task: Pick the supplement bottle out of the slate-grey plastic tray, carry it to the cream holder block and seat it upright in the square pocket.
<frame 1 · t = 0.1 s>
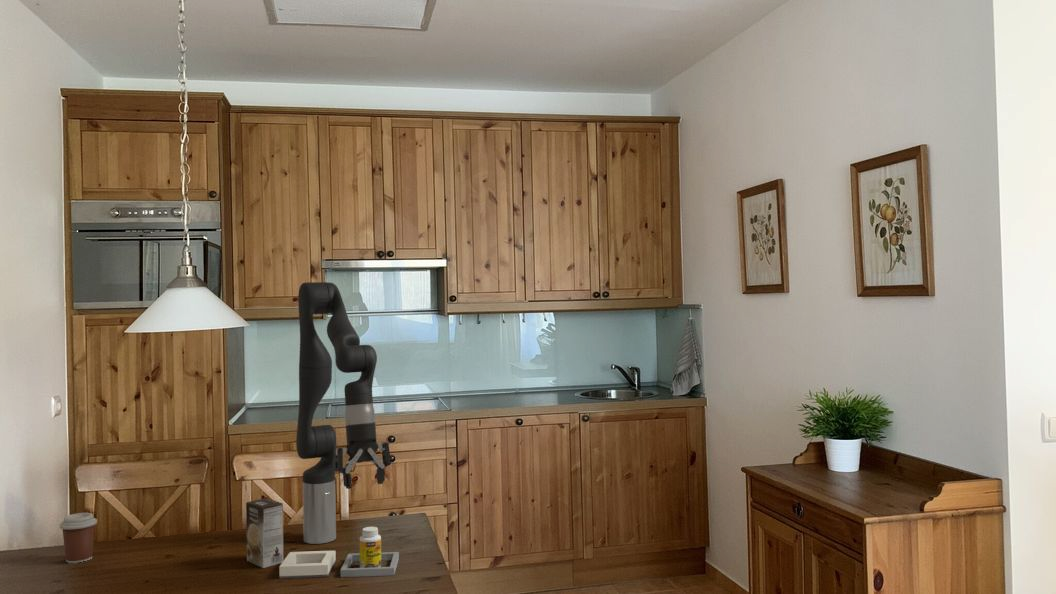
hand: (364, 486, 211), 22 cm above the table, tool pointing down, fingers open, 8 cm apart
coffee cup: (79, 560, 226), on the table
coffee box: (265, 562, 222), on the table
supplement bottle: (370, 568, 216), resting in tray
tray: (370, 567, 216), on the table
holder: (308, 569, 215), on the table
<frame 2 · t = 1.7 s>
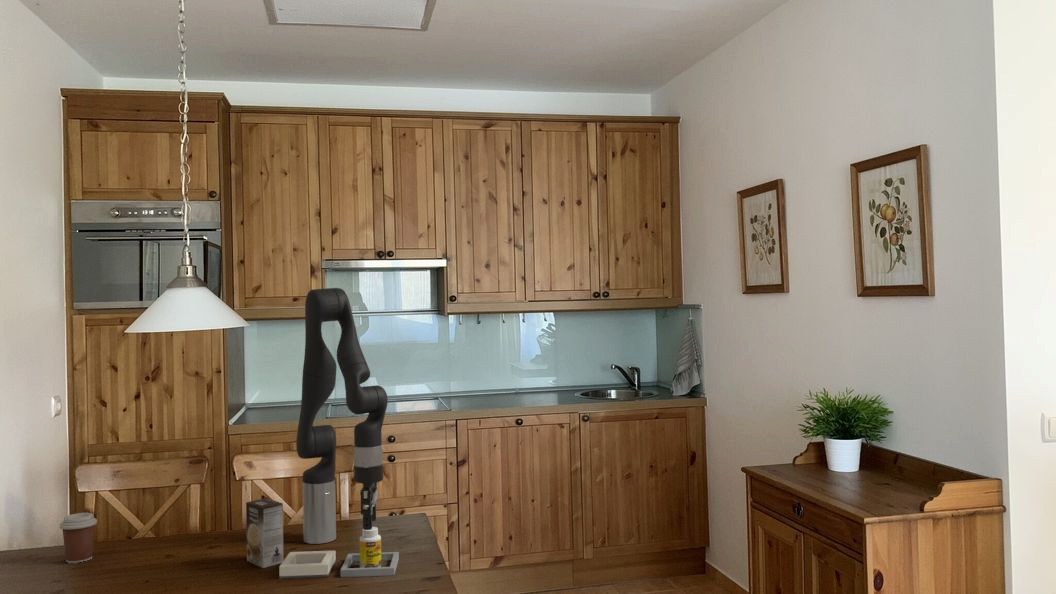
hand: (369, 525, 215), 11 cm above the table, tool pointing down, fingers open, 8 cm apart
nothing on the table moved.
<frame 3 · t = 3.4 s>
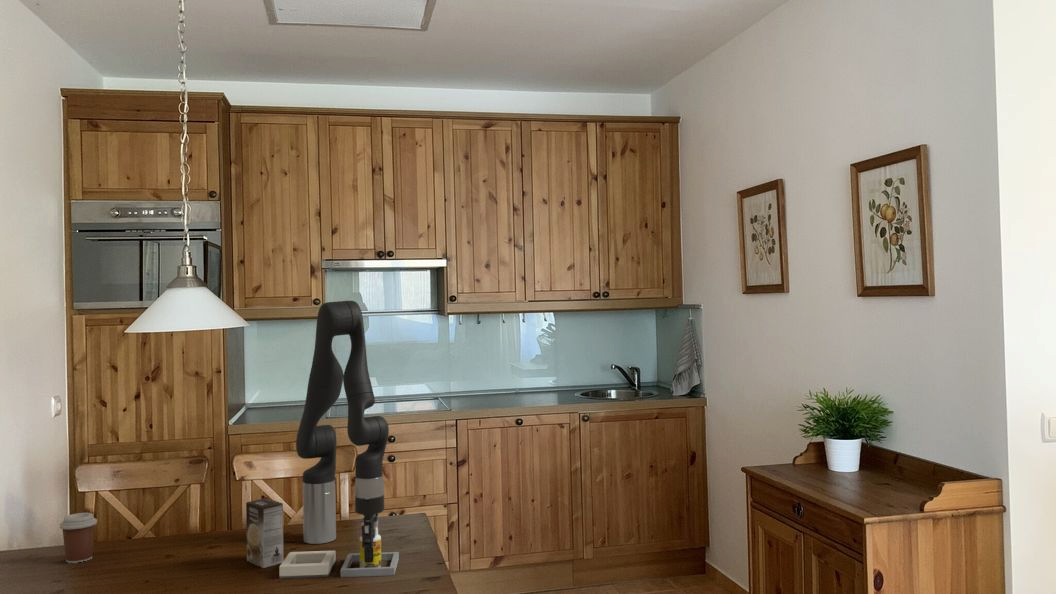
hand: (370, 557, 216), 3 cm above the table, tool pointing down, fingers closed on supplement bottle, 5 cm apart
supplement bottle: (370, 568, 216), resting in tray, touching gripper
everything else where it was.
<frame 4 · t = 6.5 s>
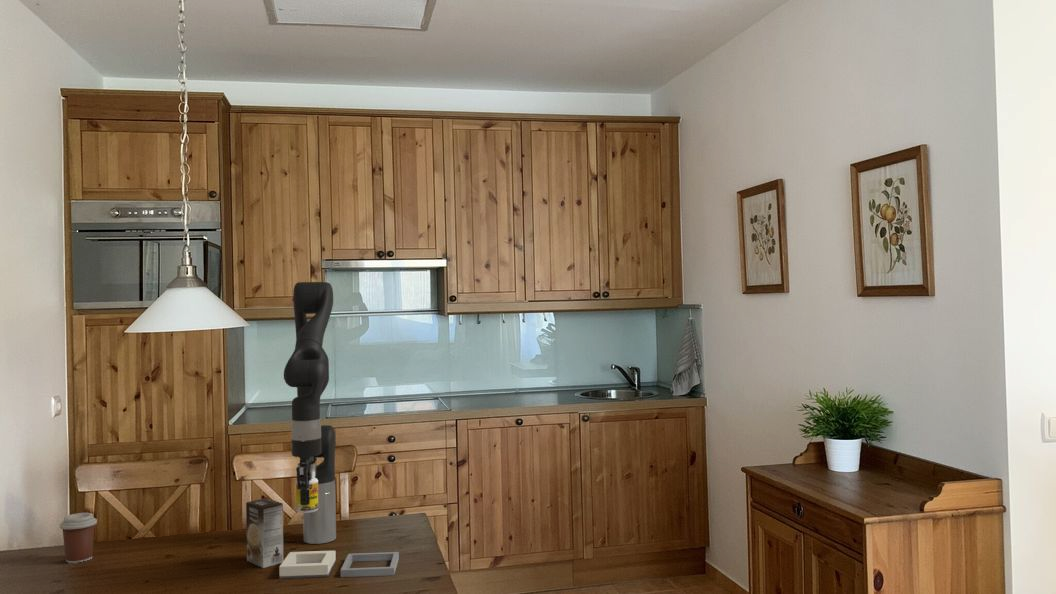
hand: (307, 501, 215), 18 cm above the table, tool pointing down, fingers closed on supplement bottle, 5 cm apart
supplement bottle: (307, 511, 215), point 15 cm above the table, touching gripper
everything else where it was.
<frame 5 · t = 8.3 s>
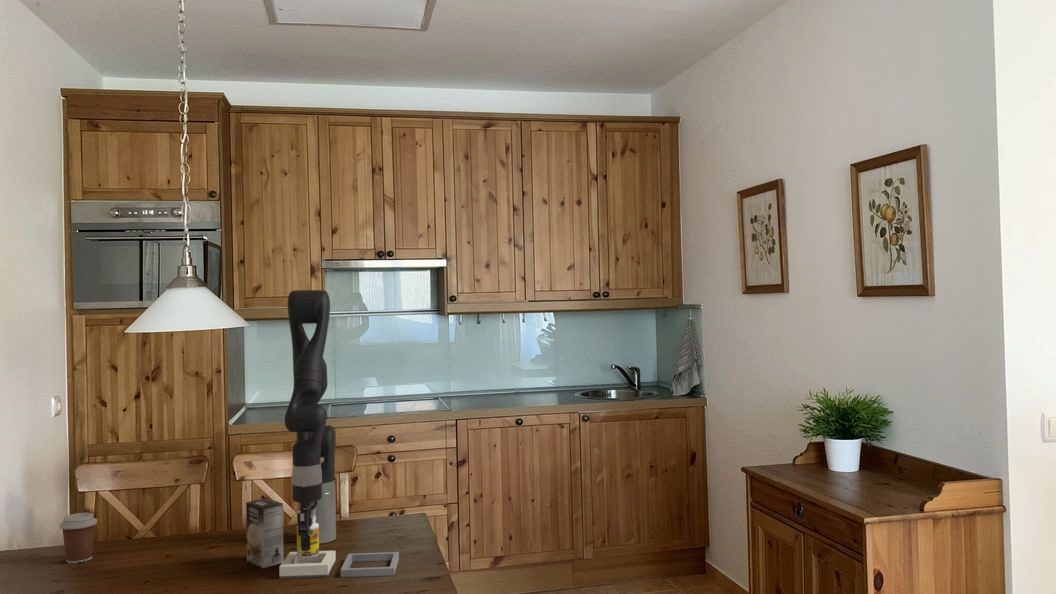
hand: (308, 546, 214), 6 cm above the table, tool pointing down, fingers closed on supplement bottle, 5 cm apart
supplement bottle: (308, 556, 215), point 3 cm above the table, touching gripper
everything else where it was.
when the fingers open (5 cm above the table, at t = 9.6 s): supplement bottle drops 1 cm, resting on holder.
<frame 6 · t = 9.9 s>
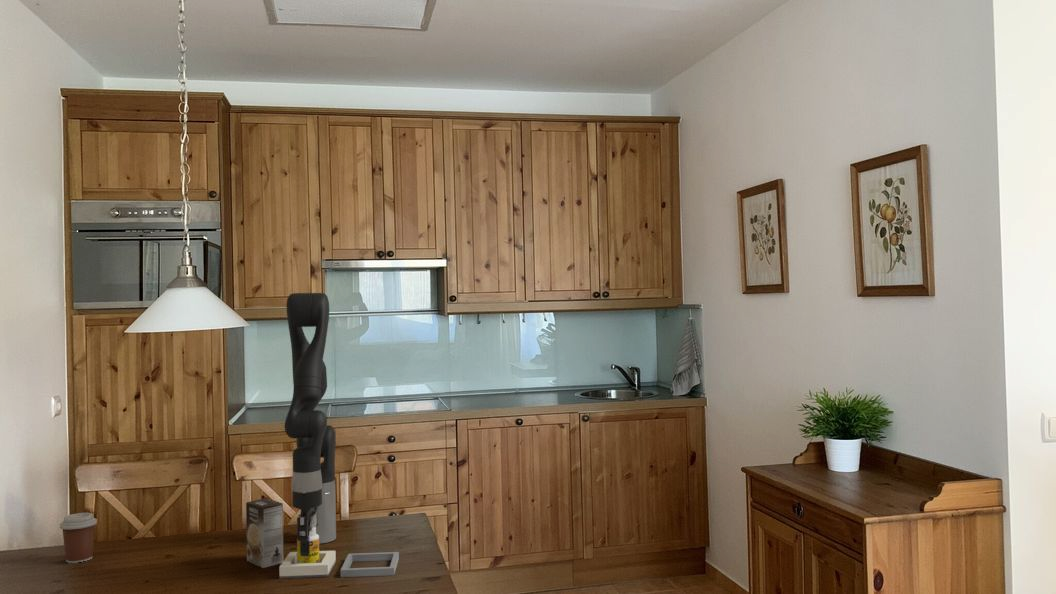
hand: (308, 550, 215), 5 cm above the table, tool pointing down, fingers open, 7 cm apart
supplement bottle: (308, 568, 215), resting on holder
everything else where it was.
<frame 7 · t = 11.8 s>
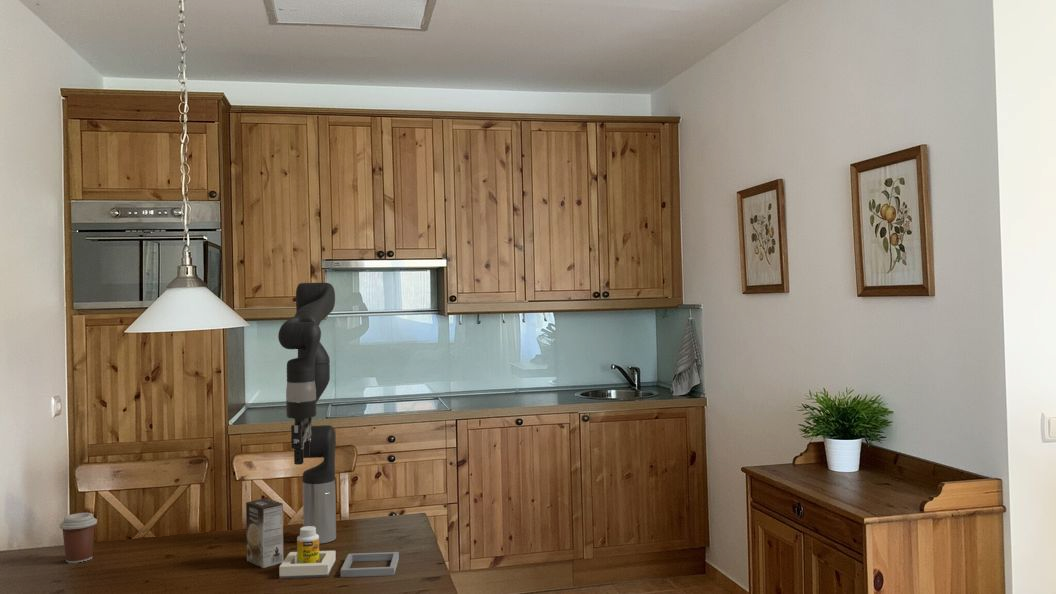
hand: (302, 460, 216), 28 cm above the table, tool pointing down, fingers open, 8 cm apart
nothing on the table moved.
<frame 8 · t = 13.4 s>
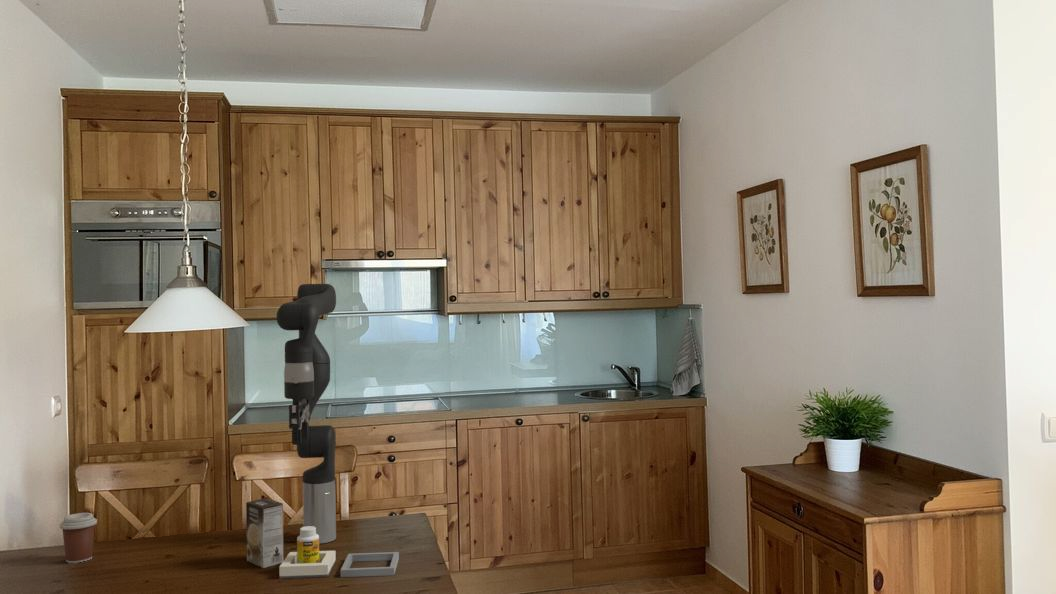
hand: (300, 441, 216), 33 cm above the table, tool pointing down, fingers open, 8 cm apart
nothing on the table moved.
at the end: supplement bottle 0.2 cm off-centre on the holder, point 0.4 cm above the holder's base; supplement bottle tilted 0°; the gripper is holding nothing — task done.
